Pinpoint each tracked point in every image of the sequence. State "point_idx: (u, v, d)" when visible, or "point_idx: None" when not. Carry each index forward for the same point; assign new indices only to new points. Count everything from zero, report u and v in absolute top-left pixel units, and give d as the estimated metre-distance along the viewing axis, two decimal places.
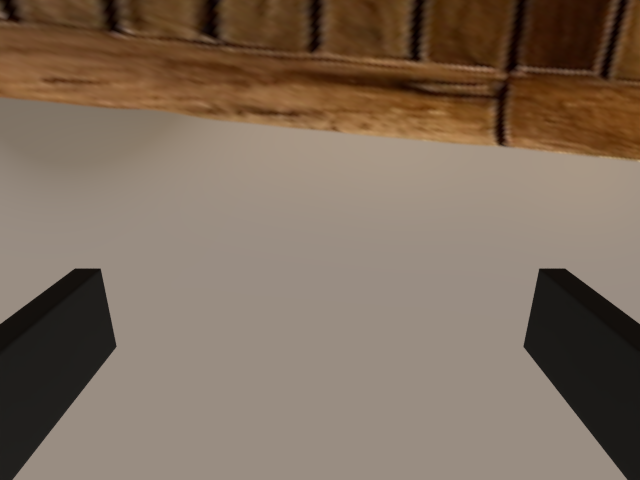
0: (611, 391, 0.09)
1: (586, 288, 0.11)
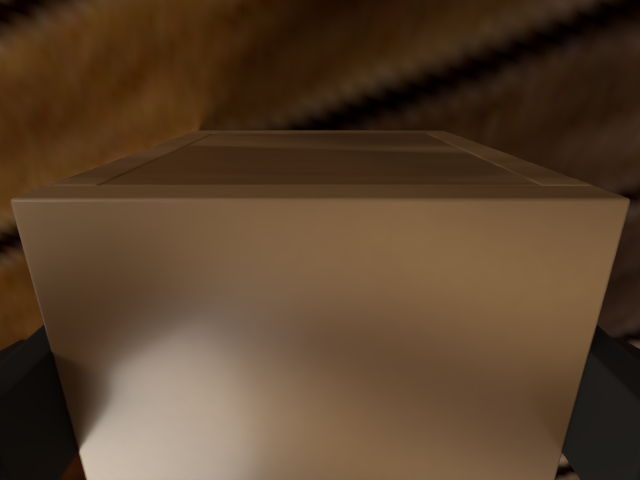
0: None
1: None
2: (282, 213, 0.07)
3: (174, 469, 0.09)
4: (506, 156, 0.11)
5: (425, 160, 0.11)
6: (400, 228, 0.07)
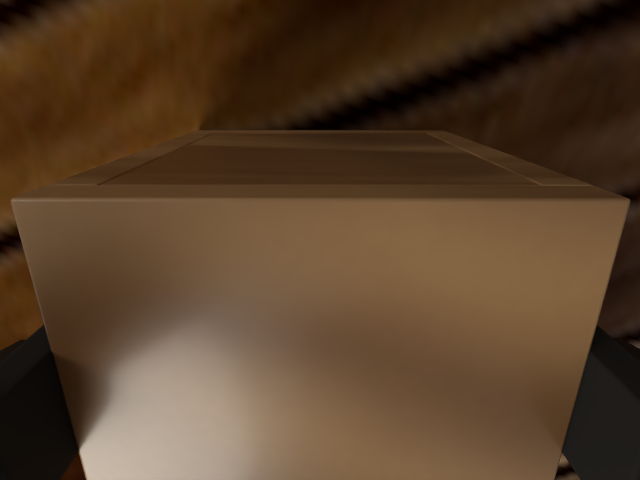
0: None
1: None
2: (282, 214, 0.07)
3: (174, 469, 0.09)
4: (506, 156, 0.11)
5: (425, 160, 0.11)
6: (400, 228, 0.07)
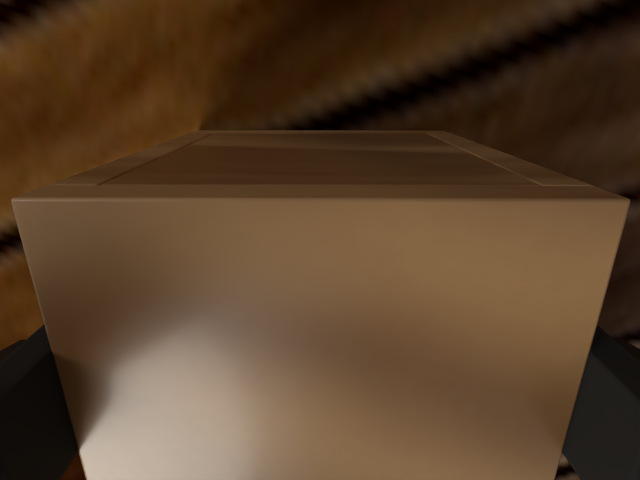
0: None
1: None
2: (282, 213, 0.07)
3: (174, 469, 0.09)
4: (506, 156, 0.11)
5: (425, 160, 0.11)
6: (400, 228, 0.07)
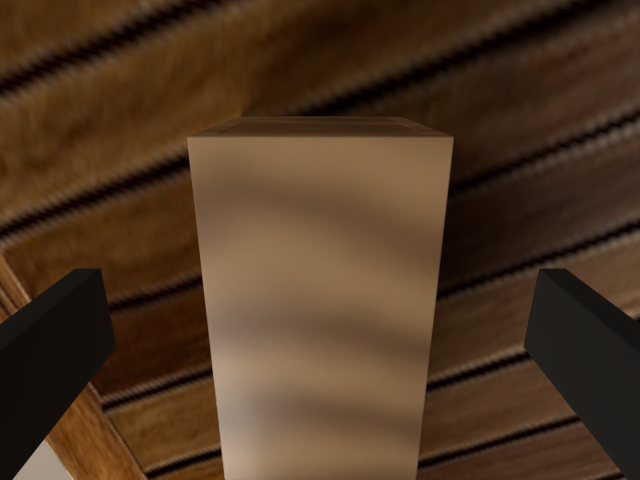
0: (611, 391, 0.09)
1: (586, 288, 0.11)
2: (304, 143, 0.17)
3: (248, 278, 0.19)
4: (421, 126, 0.21)
5: (376, 127, 0.20)
6: (355, 150, 0.17)
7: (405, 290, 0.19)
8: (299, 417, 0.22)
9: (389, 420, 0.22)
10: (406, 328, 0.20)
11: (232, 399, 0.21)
